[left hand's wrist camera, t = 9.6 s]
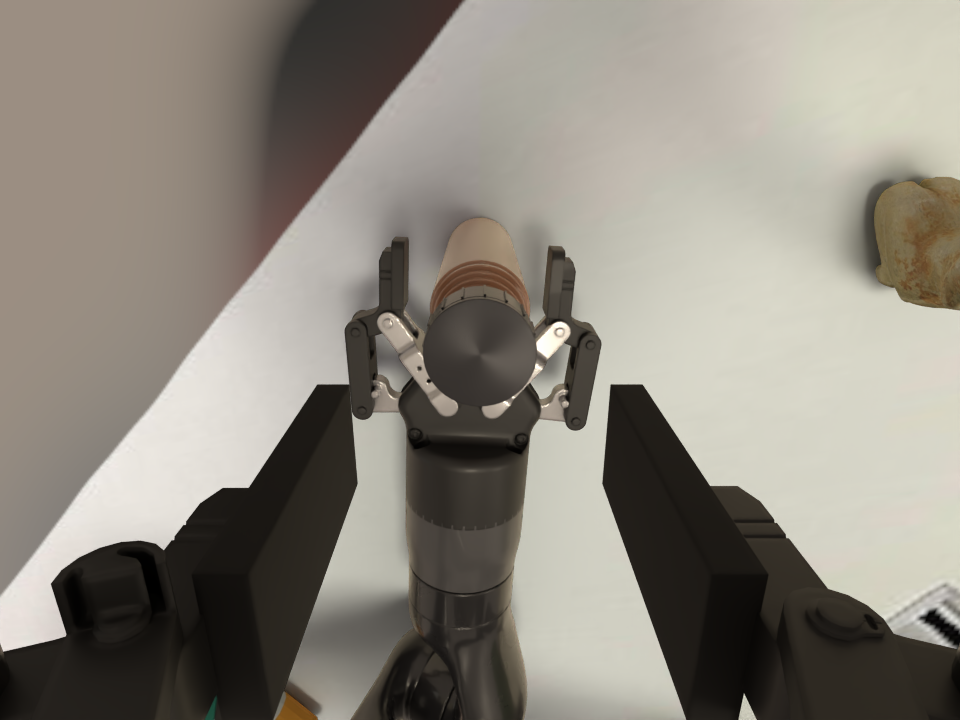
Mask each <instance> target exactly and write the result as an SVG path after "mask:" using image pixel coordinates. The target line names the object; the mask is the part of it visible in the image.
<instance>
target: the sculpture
mask: <svg viewBox="0 0 960 720" xmlns="http://www.w3.org/2000/svg"><path fill="white" fill-rule="evenodd" d="M874 227H875V233H876V240H877V245H878V249H879V253H880V258H881V265H878V266H877V268H876V276H877V279H878V280H879V282H880V283H882V284H884V285H886V286H889V287H892V288H895V289H896V291H897V293H898V295H899V297H900V298H901V299H902V300H903V301H905V302H910V303H912V304H916V305H920V306H926V307H932V308H947V309H953V310H960V181H959V180H957V179H954V178H951V177H935V178H931V179H924V180H922V181H921V183H920V184H919V185H918V184H916V183H915V182H913V181H908V182H901V183H898V184H895V185H893V186H891V187H889V188H888V189H886V190H885V191H884V192H883V193H882V194H881V196H880V197H879V199H878V201H877V203H876V207H875V212H874Z"/></svg>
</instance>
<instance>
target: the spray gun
mask: <svg viewBox="0 0 960 720" xmlns="http://www.w3.org/2000/svg"><path fill="white" fill-rule="evenodd" d="M205 720H222V719H221V714H220V709H219V704H218V699H217V695H216V697H215V699H214V701H213V703H212V705H211V707H210V709H209V712H208V714H207V716H206V718H205ZM274 720H318V718H317V717H316V716H315V715H314V714H313V713H311V712H310V711H309V710H308V709H306V708H305V707H304V706H303V705H301V704H300V703H299V702H298V701H296V700H295V699H294V698H293V697H291V696H290V695H289V694H288V693H286V692H285V691H284V692H283V694H282V697H281V700H280V703H279V706H278V708H277V711H276V714H275V717H274Z"/></svg>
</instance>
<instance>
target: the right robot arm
mask: <svg viewBox="0 0 960 720" xmlns="http://www.w3.org/2000/svg"><path fill="white" fill-rule="evenodd" d="M408 270H409V239H408V237H395V238H394V239H393V240H392V245H391V247H386V248H385V250H384V251H383V252H382V255H381V257H380V260H379V306H378V307H376V308H374V309H370V310H367V311H366V310H360V311H358V312H356V314H355V315H354V316H353V318H352V320H351V321H350V322H349V323H348V325H347V326H346V328H345V340H346V351H347V362H348V373H349V384H350V395H351V406H352V413H353V415H354V416H355V417H356V418H358V419H361V420H365V419H368V418H369V417H370V416H371V415H372V413H373V412H400V414H401V415H402V417H403V419H404V421H405V423H406V428H407V449H406V537H407V544H408V550H409V613H410V617H411V621H412V624H413V627H414V628H413V629H411V630H410V631H409V632H407V633H406V634H405V635H404V636H403V637H402V638H401V639H400V641H399V642H398V643H397V645H396V646H395V648H394V649H393V651H392V653H391V654H390V656H389V658H388V660H387V661H386V663H385V665H384V667H383V669H382V670H381V672H380V674H379V676H378V677H377V679H376V681H375V682H374V684H373V686H372V687H371V689H370V690H369V692H368V694H367V695H366V697H365V698H364V700H363V701H362V703H361V704H360V706H359V707H358V709H357V710H356V712H355V713H354V715H353V717H352V718H351V720H524V716H525V712H526V704H527V680H526V673H525V667H524V662H523V657H522V653H521V649H520V644H519V640H518V636H517V631H516V626H515V622H514V618H513V615H512V611H511V607H510V603H511V595H512V583H513V572H514V562H515V556H516V552H517V549H518V545H519V541H520V535H521V528H522V517H523V506H524V496H525V485H526V474H527V464H528V453H529V442H530V434H531V431H532V428H533V427H534V425H535V424H536V422H537V421H538V420H539V419H544V420H554V421H563V422H566V425H567V427H568V428H569V429H571V430H575V431H576V430H580V429H582V428H583V427H584V426H585V424H586V420H587V415H588V410H589V405H590V400H591V395H592V390H593V385H594V380H595V375H596V370H597V365H598V360H599V354H600V349H601V340H600V339H599V337H598V335H597V334H596V332H595V330H594V328H593V327H592V325H591V324H589V323H587V322H580V321H578V320H576V319H574V318H572V317H571V309H572V300H573V291H574V281H575V273H576V271H575V268H574V264H573V262H572V260H571V259H570V258H569V257H565V250H564V249H563V248H562V246H549V248H548V256H547V266H546V277H545V288H544V299H543V310H544V313H545V316H544V317H543V318H542V319H541V320H540V322H539V323H538V324H537V325H536V326H535V327H534V329H535V333H536V335H534V336H535V339H536V344H537V353H538V356H537V361H536V366H535V369H534V372H533V374H532V376H531V378H530V380H529V381H528V383H527V384H526V385H525V386H524V388H523V389H522V390H521V391H520V392H518V393H517V394H516V395H514V396H513V397H511V398H510V399H508V400H506V401H504V402H501V403H499V404H495V405H490V406H470V405H465V404H462V403H458V402H456V401H454V400H452V399H450V398H449V397H447V396H445V395H444V394H443V393H442V392H440V391H439V390H438V389H437V388H436V386H435V385H434V384H433V383H432V381H431V380H430V378H429V376H428V374H427V372H426V369H425V366H424V361H423V347H422V343H423V340H424V336H425V332H424V331H423V330H422V329H420V328H419V327H418V326H417V325H416V324H415V322H414V321H413V319H412V318H411V317H410V315H409V314H408V313H407V311H406V310H405V309H404V308H405V306H406V304H407V302H408ZM382 333H383V334H384V336H385V337H386V338H387V340H388V341H389V342H390V343H391V345H392V346H393V347H394V349H395V350H396V351H397V353H398V356H399V359H400V361H401V362H402V364H403V365H404V366H405V367H406V369H407V370H408V371H409V373H410V374H411V375H412V376H413V377H412V378H411V379H410V380H409V381H408V383H407V384H406V385H405V386H404V388H403V389H402V391H401V392H396V391H394V390H393V389H392V388H391V387H390V384H389V381H388V379H387V378H386V377H385V376H383V375H378V370H377V357H376V343H375V335H378V334H382ZM563 343H565V344H568V345H570V346H571V348H570V353H569V359H568V365H567V370H566V376H565V381H564V384H558V385H556V386H555V387H554V388H553V390H552V392H551V394H550V396H549V397H547V398H545V399H539V396H538V394H537V393H536V391H535V390H534V388H533V387H532V385H531V384H530V382H531V381H532V380H533V379H534V378H535V377H536V376H537V375H538V374H539V373H540V371H541V370H542V369H543V368H544V367H545V365H546V362H547V360H548V359H549V358H550V357H551V356H552V355H553V354H554V353H555V352H556V350H557V349H558V348H559V347H560V346H561V345H562V344H563Z"/></svg>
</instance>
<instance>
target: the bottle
mask: <svg viewBox="0 0 960 720" xmlns="http://www.w3.org/2000/svg"><path fill="white" fill-rule="evenodd" d="M484 285H486V286H487V287H492V288H496V289H499V290H502V291H507V293H508V294H509V295H511V296H512V297H514V298H515V299H516V300H517V301H518V302H519V303H520V304H521V303H522V304H523V306H524V309H525V311H526V312H527V314H528V316H529V315H530V302H529V297H528V293H527V290H526V287H525V284H524V280H523V277H522V274H521V271H520V268H519V264H518V261H517V258H516V255H515V251H514V248H513V245H512V242H511V239H510V236H509V234H508V233H507V231H506V230H505V229H504V228H503V227H502V226H501V225H500V224H499V223H497V222H495V221H493V220H491V219H487V218H472V219H469V220H467V221H465V222H463V223H461V224H460V225H459V226H458V227H457V228H456V229H455V230H454V231H453V233H452V234H451V236H450V239H449V242H448V245H447V248H446V251H445V255H444V258H443V261H442V264H441V267H440V271H439V274H438V277H437V280H436V284H435V287H434V290H433V293H432V296H431V302H430V315H431V313H432V314H433V312H434V311H435V309H436V308H437V306H438V305H439V304H440V303H441V302H442V301H443V298H444V297H445V298H446V297H448V296H449V295H451V294H452V293H454V292H456V291H458V290H461V289H462V287H464V288H467V287H473V286H484Z"/></svg>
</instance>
